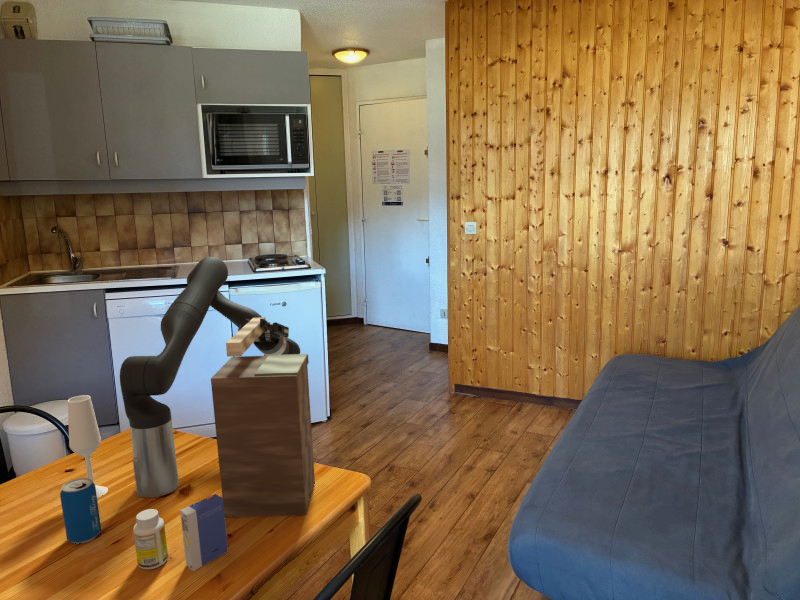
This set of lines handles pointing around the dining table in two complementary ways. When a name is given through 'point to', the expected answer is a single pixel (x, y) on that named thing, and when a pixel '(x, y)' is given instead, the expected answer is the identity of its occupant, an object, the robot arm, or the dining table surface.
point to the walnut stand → (264, 435)
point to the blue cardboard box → (204, 531)
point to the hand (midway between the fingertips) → (254, 322)
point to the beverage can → (80, 510)
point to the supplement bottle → (150, 539)
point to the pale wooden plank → (244, 338)
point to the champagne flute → (84, 433)
